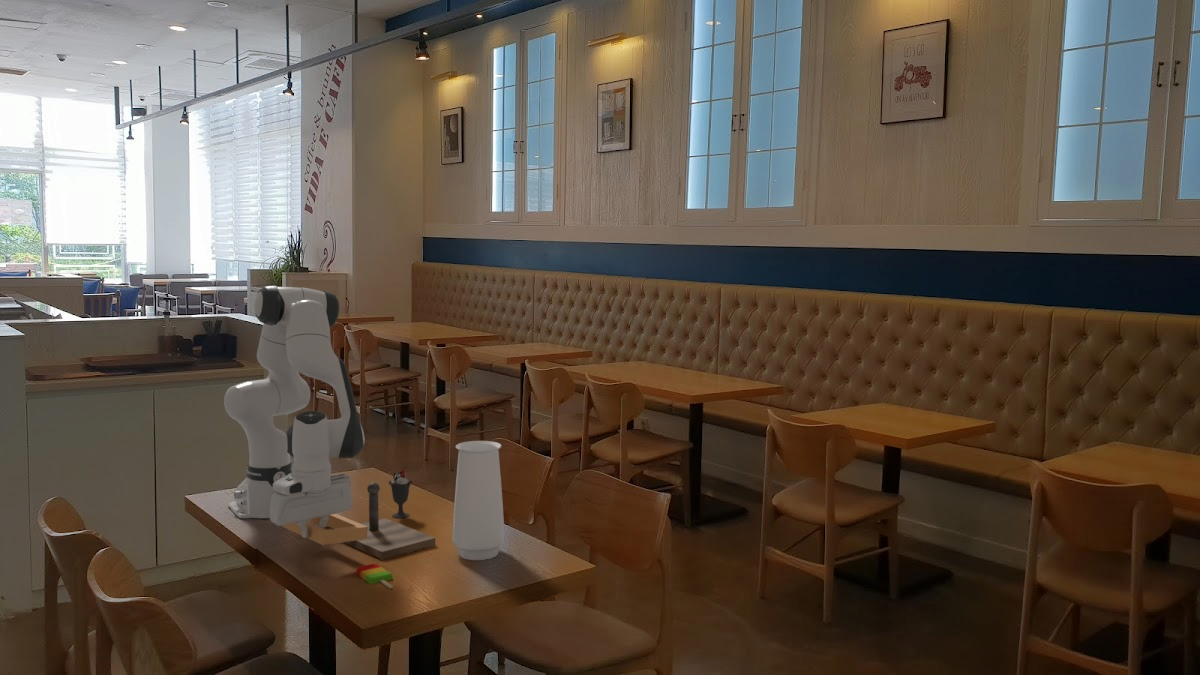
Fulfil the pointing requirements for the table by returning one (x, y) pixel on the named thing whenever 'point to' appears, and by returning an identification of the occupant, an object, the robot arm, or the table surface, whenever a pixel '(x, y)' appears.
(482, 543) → the vase
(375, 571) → the popsicle
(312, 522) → the link
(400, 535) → the stand
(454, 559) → the table surface
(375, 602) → the table surface
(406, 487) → the sundae
